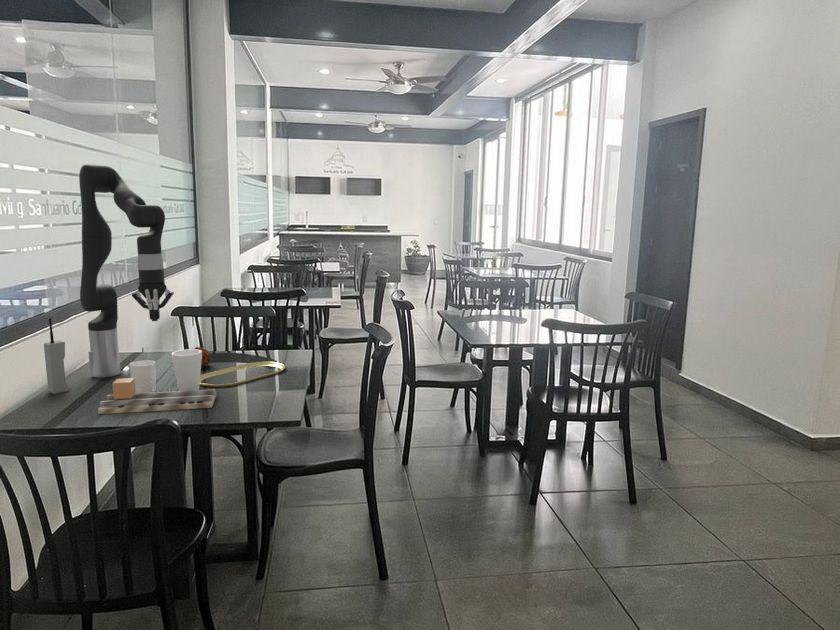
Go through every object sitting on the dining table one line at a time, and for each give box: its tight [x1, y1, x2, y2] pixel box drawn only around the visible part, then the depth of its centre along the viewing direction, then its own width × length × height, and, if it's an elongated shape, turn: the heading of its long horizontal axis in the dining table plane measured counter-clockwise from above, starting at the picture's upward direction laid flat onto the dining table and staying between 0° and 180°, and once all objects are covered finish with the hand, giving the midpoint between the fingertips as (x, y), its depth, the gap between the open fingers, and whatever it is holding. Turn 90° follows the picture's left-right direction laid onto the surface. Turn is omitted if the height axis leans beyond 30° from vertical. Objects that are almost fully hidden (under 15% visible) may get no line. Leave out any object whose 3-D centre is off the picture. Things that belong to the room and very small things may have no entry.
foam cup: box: [171, 348, 202, 391], centre depth 201 cm, size 10×9×13 cm
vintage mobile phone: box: [43, 317, 70, 395], centre depth 198 cm, size 4×5×25 cm
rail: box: [97, 388, 217, 415], centre depth 186 cm, size 32×12×3 cm, turn 101°
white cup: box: [128, 359, 157, 393], centre depth 199 cm, size 8×8×10 cm
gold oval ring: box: [199, 361, 286, 388], centre depth 221 cm, size 19×35×2 cm, turn 145°
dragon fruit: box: [194, 346, 212, 369], centre depth 232 cm, size 8×8×12 cm
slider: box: [112, 377, 136, 400], centre depth 184 cm, size 5×5×7 cm
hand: (154, 320), depth 196 cm, fingers closed
